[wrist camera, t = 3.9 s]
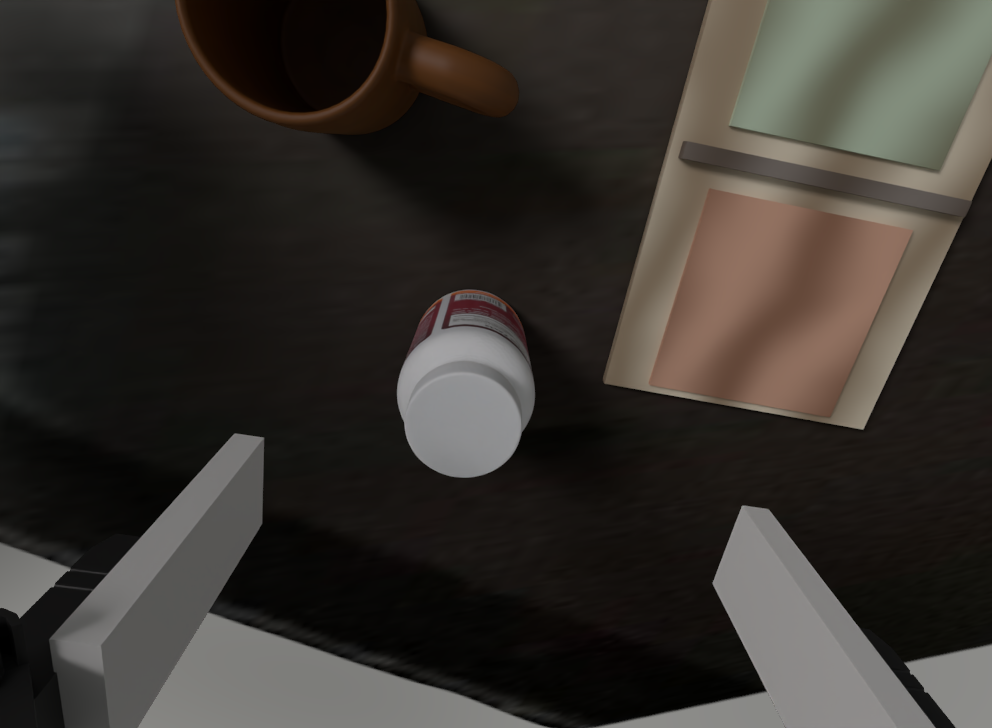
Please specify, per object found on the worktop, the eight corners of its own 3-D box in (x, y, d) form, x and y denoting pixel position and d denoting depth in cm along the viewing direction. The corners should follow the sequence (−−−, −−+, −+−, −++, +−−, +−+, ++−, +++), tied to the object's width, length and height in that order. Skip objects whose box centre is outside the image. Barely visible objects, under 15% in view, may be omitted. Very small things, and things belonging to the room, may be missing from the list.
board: (602, 379, 33) (606, 388, 32) (756, -172, 24) (770, -189, 23) (857, 425, 34) (870, 435, 33) (1095, -86, 25) (1125, -98, 24)
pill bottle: (450, 405, 34) (430, 517, 24) (397, 317, 32) (351, 397, 22) (544, 361, 33) (566, 458, 23) (495, 267, 31) (496, 326, 21)
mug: (539, 30, 27) (561, -28, 18) (487, 187, 29) (485, 204, 21) (291, -70, 25) (184, -186, 17) (259, 104, 28) (151, 83, 19)
